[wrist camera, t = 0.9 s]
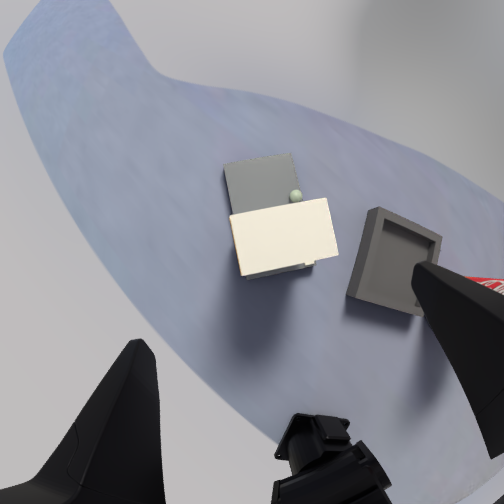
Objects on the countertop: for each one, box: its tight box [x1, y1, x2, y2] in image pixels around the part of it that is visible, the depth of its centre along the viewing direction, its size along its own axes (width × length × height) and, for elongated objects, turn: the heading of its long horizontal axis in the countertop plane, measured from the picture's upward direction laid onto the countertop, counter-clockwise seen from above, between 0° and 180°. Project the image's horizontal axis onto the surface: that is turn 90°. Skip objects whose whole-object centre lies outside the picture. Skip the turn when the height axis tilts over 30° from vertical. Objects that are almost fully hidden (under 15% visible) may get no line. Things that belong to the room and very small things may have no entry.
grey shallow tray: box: [346, 207, 442, 317], centre depth 23 cm, size 8×8×2 cm
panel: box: [223, 153, 316, 280], centre depth 23 cm, size 10×6×2 cm, turn 12°
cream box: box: [229, 198, 338, 276], centre depth 18 cm, size 3×5×9 cm, turn 102°
